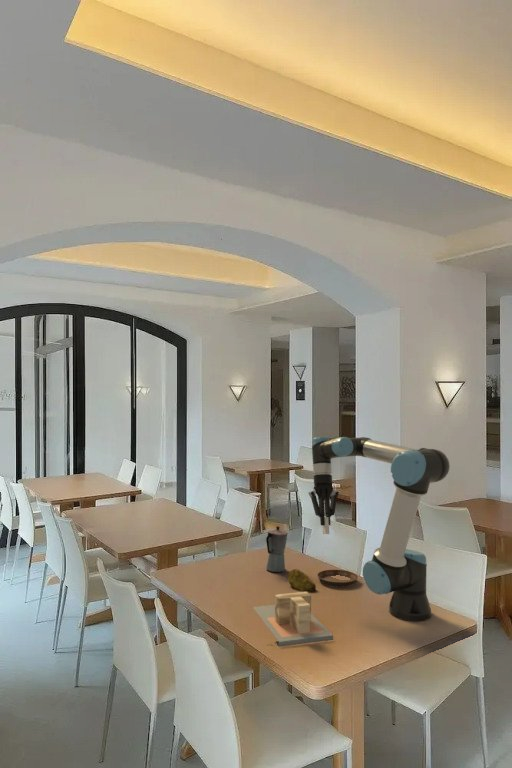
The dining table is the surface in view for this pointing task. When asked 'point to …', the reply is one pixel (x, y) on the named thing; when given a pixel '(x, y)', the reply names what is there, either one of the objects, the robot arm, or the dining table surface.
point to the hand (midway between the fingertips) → (326, 533)
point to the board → (292, 629)
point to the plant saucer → (330, 581)
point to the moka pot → (276, 550)
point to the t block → (294, 610)
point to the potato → (301, 581)
